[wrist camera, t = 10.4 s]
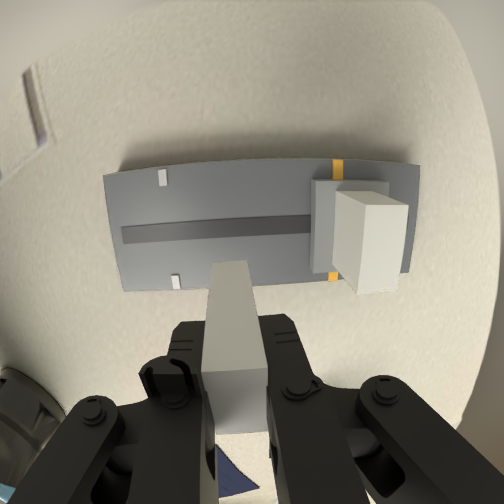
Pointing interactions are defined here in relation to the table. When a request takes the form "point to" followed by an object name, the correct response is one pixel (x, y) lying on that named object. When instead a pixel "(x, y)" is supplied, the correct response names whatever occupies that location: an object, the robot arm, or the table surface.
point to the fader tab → (357, 233)
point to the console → (232, 218)
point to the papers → (231, 478)
